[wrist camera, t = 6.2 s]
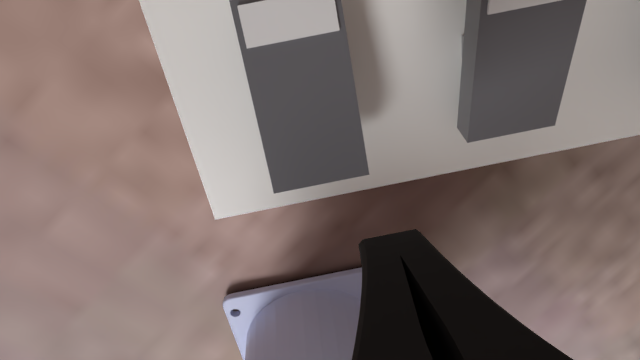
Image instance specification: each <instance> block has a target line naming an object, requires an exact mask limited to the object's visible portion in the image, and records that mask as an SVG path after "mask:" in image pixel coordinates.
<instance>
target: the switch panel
mask: <svg viewBox="0 0 640 360" xmlns="http://www.w3.org/2000/svg"><path fill="white" fill-rule="evenodd" d="M139 2H140V5H141V8H142V11H143V13H144V16H145V19H146V22H147V25H148V28H149V31H150V34H151V36H152V39H153V42H154V45H155V48H156V51H157V54H158V57H159V59H160V62H161V65H162V68H163V71H164V74H165V77H166V80H167V82H168V85H169V88H170V91H171V94H172V97H173V100H174V103H175V105H176V108H177V111H178V114H179V117H180V120H181V123H182V126H183V128H184V131H185V134H186V137H187V140H188V143H189V146H190V149H191V151H192V154H193V157H194V160H195V163H196V166H197V169H198V172H199V174H200V177H201V180H202V183H203V186H204V189H205V192H206V195H207V197H208V200H209V203H210V206H211V209H212V212H213V215H214V218H215V220H216V219H221V218H226V217H231V216H236V215H241V214H246V213H251V212H256V211H261V210H266V209H271V208H276V207H281V206H286V205H291V204H296V203H301V202H306V201H311V200H316V199H321V198H326V197H331V196H336V195H341V194H346V193H351V192H356V191H361V190H366V189H371V188H376V187H381V186H386V185H391V184H396V183H401V182H406V181H411V180H416V179H421V178H426V177H431V176H436V175H441V174H446V173H451V172H456V171H461V170H466V169H471V168H476V167H481V166H486V165H491V164H496V163H501V162H506V161H511V160H516V159H521V158H526V157H531V156H536V155H541V154H546V153H551V152H557V151H562V150H567V149H572V148H577V147H582V146H587V145H592V144H597V143H602V142H607V141H612V140H617V139H622V138H627V137H632V136H637V135H640V0H587V1H586V5H585V9H584V13H583V17H582V21H581V25H580V29H579V33H578V37H577V41H576V45H575V49H574V52H573V56H572V60H571V64H570V68H569V72H568V76H567V80H566V84H565V88H564V92H563V96H562V100H561V104H560V108H559V111H558V115H557V119H556V123H555V126H550V127H545V128H540V129H535V130H530V131H525V132H520V133H515V134H510V135H505V136H500V137H495V138H490V139H484V140H479V141H474V142H469V143H467V142H466V140H465V139H464V137H463V136H462V134H461V133H460V131H459V130H458V128H457V120H458V107H459V94H460V81H461V68H462V55H463V41H464V28H465V15H466V2H467V0H341V2H342V8H343V14H344V20H345V26H346V33H347V39H348V45H349V51H350V57H351V64H352V70H353V76H354V82H355V88H356V95H357V101H358V107H359V113H360V119H361V126H362V132H363V138H364V144H365V150H366V157H367V163H368V169H369V175H365V176H360V177H355V178H350V179H345V180H340V181H335V182H330V183H325V184H320V185H315V186H310V187H305V188H300V189H295V190H290V191H285V192H280V193H275V194H274V192H273V188H272V183H271V179H270V175H269V170H268V166H267V162H266V157H265V153H264V149H263V144H262V140H261V136H260V131H259V127H258V123H257V119H256V114H255V110H254V106H253V101H252V97H251V93H250V88H249V84H248V80H247V75H246V71H245V67H244V62H243V58H242V54H241V50H240V45H239V41H238V37H237V32H236V28H235V24H234V19H233V15H232V11H231V6H230V2H229V0H139Z"/></svg>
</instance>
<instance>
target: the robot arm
mask: <svg viewBox="0 0 640 360" xmlns="http://www.w3.org/2000/svg"><path fill="white" fill-rule="evenodd" d="M359 250H360V257H361V263H362V267H361V268H356V269H351V270H346V271H341V272H336V273H331V274H326V275H321V276H316V277H311V278H306V279H301V280H296V281H291V282H286V283H281V284H276V285H271V286H266V287H261V288H256V289H252V290H247V291H242V292H237V293H232V294H228V295H227V296H225V297H224V300H223V308H224V311H225V314H226V316H227V319H228V321H229V324H230V327H231V329H232V332H233V334H234V337H235V340H236V342H237V345H238V348H239V350H240V353H241V355H242V358H243V360H573V359H572V358H570V357H568V356H567V355H566V354H564V353H563V352H561V351H560V350H558V349H557V348H555V347H554V346H552V345H551V344H549V343H548V342H547V341H545V340H544V339H542V338H541V337H540V336H538V335H537V334H535V333H534V332H533V331H531V330H530V329H529V328H527V327H526V326H525V325H523V324H522V323H521V322H519V321H518V320H517V319H515V318H514V317H513V316H512V315H510V314H509V313H508V312H507V311H505V310H504V309H503V308H501V307H500V306H499V305H498V304H496V303H495V302H494V301H493V300H492V299H490V298H489V297H488V296H487V295H486V294H484V293H483V292H482V291H481V290H480V289H479V288H478V287H476V286H475V285H474V284H473V283H472V282H471V281H470V280H468V279H467V278H466V277H465V276H464V275H463V274H462V273H461V272H460V271H458V270H457V269H456V268H455V267H454V266H453V265H452V264H451V263H450V262H449V261H448V260H447V259H446V258H445V257H444V256H443V255H442V254H441V253H440V252H439V251H438V250H437V249H436V248H435V247H434V246H433V245H432V244H431V243H430V242H429V241H428V240H427V239H426V238H425V237H424V236H423V235H422V234H421V233H420V232H419V231H417V230H416V229H415V230H409V231H404V232H399V233H394V234H389V235H384V236H379V237H373V238H368V239H363V240H362V241H361V242H360V243H359ZM233 309H238V310H239V311H233Z"/></svg>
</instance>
